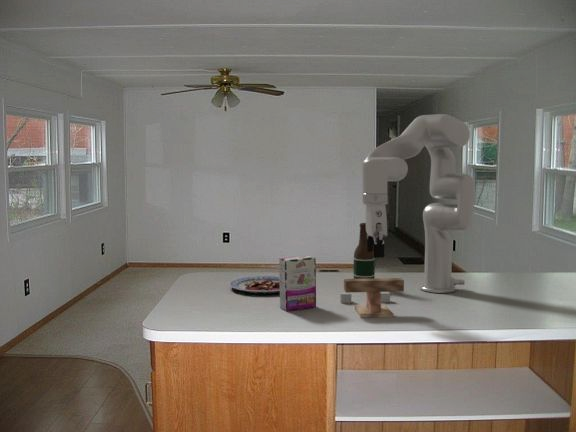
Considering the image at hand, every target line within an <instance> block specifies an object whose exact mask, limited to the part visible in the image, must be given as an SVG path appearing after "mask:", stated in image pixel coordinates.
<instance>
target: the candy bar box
mask: <svg viewBox="0 0 576 432" xmlns="http://www.w3.org/2000/svg"><path fill="white" fill-rule="evenodd" d="M278 262H279V263H278V269H279V270H278V273H279V276H278V277H279V279H280V292H279V308H280V309H281V310H283V311H285V312H292V311H297V310H305V309H311V308H316V307H317V276H316V275H317V271H316V270H317V269H316V267H317V266H316V263H317V262H316V257H315V256H312V255H302V256H301V255H299V256H293V257H292V256H290V257H281V258H278Z"/></svg>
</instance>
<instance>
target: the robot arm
mask: <svg viewBox="0 0 576 432" xmlns="http://www.w3.org/2000/svg"><path fill="white" fill-rule="evenodd" d="M470 136H471V135H470V129H469V126H468V125H467V124H466V122H464V121H461V120H460V119H458V118H456V117H454V116H452V115H449V114H447V113H439V114H436V113H435V114H423V115H419V116H417V117H416V118H414V119H413V121H412V122H410V124H409V125H408V126H407V127H406V128H405V129H404V131H403V132H401V134H400V135H399V136H397V137H394V138H392V139H390V140H388V141H386V142H384V143H382V144H380V145H378V146H377V147H375V148H374V149H373V150H371V152H370V153H369V154H368V156H367V157H366V158H365V159H364V160H363V161H362V165H361V166H362V169H361V170H362V177H361V178H362V205H365V223H366V232H367V251H368V252H373V257H374V258H375V259H376V258H385V240H384V239H385V237H386V238H387V236H388V220H387V218H388V217H387V209H386V208H387V207H386V205H388V201H389V200H388V199H389V198H388V182H399V181H402V180H403V179H405V178H406V176H407V174H408V171H409V168H408V163H407V162H406V160H407V159H411V158H413V157H416V156H417V155H419V154H420V153H421V152H422V150H423V149H424V147H425V149H426V150H427V151H428V153H429V156H430V163H431V164H430V177H429V195H430V196H431V197H432V198H433V199H437V200H447V201H457V203H448V202H447V203H446V202H444V203H443V202H433V203H429V204H428V205H426V206H425V207H424V208H423V211H422V220H423V228H424V241H425V242H424V279H423V280H424V281H423V283H421V284H420V285H419V289H420V290H421V291H424V292H427V293H432V294H433V293H434V294H437V293H438V294H447V293H453V292H456V286H457V285H459V286H463V285H465V279H460V278H454V277H453V276H452V261H453V259H452V258H453V241H452V237H451V236H450V234H449V232H448V231H451V232H467V231H469V230H470V229H471V227H472V224H473V220H474V212H475V210H474V208H475V198H476V185H475V183H476V182H475V180H474V178H473V176H472V175H470V174H468V173H463V172H462V173H459V172H458V173H457V172H456V161H457V160H456V158H455V157H456V156H455V154H454V153H453V151H452V150H451V149H450V148H461V147H464V146H467V144H468V142H469V140H470Z"/></svg>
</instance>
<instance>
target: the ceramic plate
mask: <svg viewBox="0 0 576 432" xmlns="http://www.w3.org/2000/svg"><path fill="white" fill-rule="evenodd" d="M229 287H231V288H232V289H234V290H237V291H243V292H245V291H246V292H245V293H249V292H250V293H249V294H257V293H263V294H262V295H266V293H269V294H275V293H280V279H279V276H276V275H275V276H272V275H259V276H258V275H257V276H248V277H243V278H242V277H241V278H237V279H234V280H232V281H231V282H229Z"/></svg>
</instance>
